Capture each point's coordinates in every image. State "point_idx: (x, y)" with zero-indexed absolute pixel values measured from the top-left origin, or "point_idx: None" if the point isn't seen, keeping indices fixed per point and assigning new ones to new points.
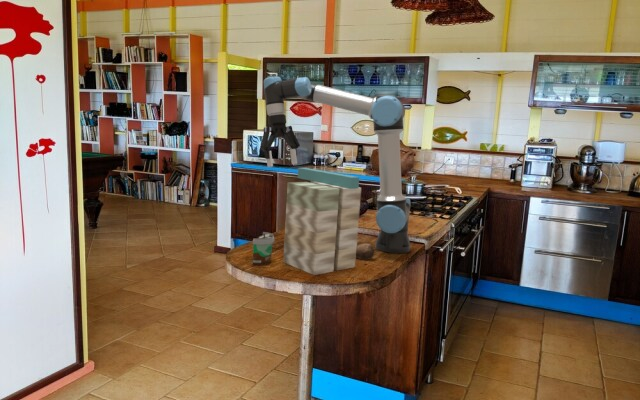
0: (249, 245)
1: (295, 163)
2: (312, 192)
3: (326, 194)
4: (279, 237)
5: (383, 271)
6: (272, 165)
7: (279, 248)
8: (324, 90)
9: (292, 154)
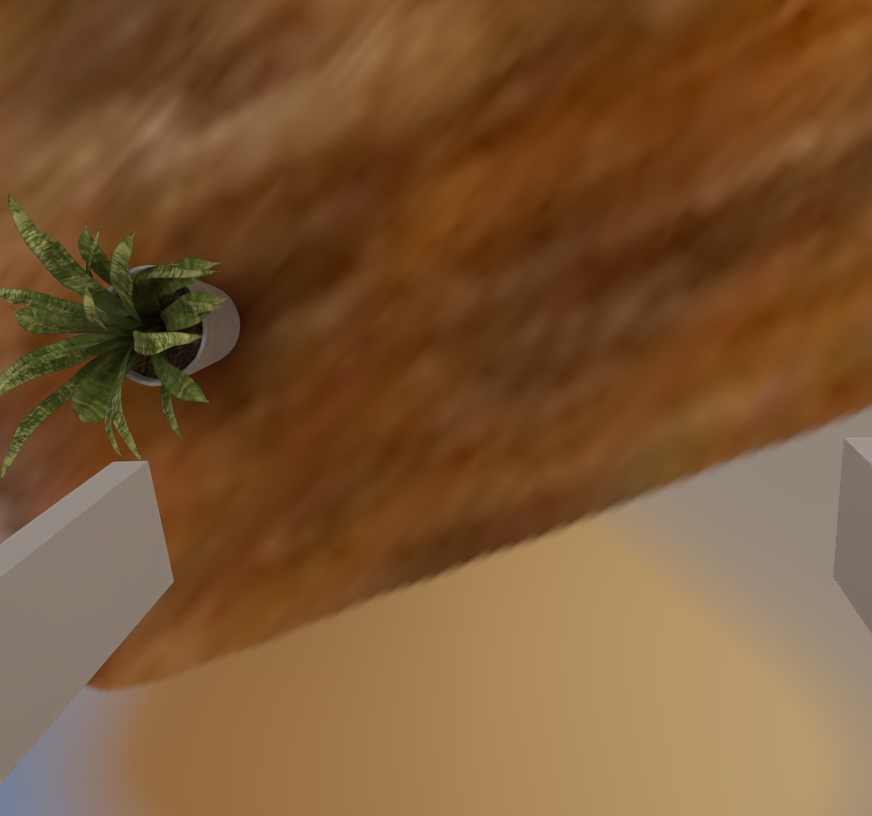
0: (813, 406)
1: (147, 478)
2: None
3: None
4: (464, 486)
5: None
6: (868, 446)
7: (669, 234)
8: None
9: (36, 656)
